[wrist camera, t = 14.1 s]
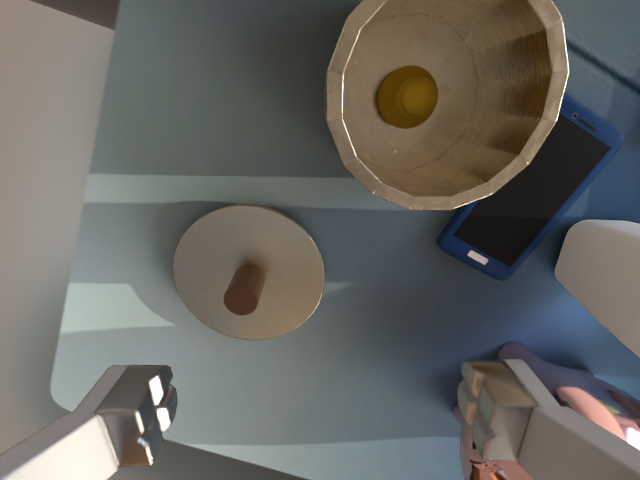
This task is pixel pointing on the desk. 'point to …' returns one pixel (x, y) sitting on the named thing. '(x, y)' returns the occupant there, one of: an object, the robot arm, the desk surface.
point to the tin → (447, 95)
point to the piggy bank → (569, 391)
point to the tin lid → (249, 271)
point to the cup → (605, 274)
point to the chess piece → (407, 97)
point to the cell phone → (532, 195)
